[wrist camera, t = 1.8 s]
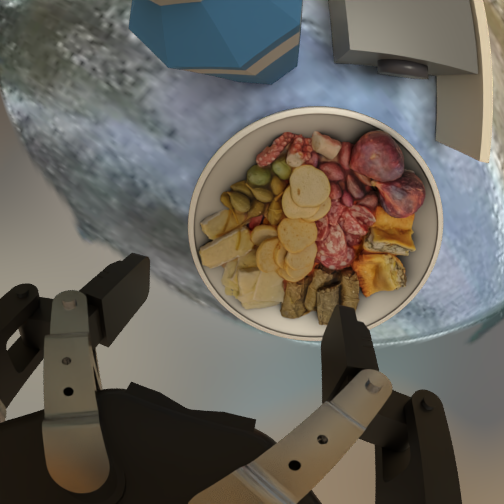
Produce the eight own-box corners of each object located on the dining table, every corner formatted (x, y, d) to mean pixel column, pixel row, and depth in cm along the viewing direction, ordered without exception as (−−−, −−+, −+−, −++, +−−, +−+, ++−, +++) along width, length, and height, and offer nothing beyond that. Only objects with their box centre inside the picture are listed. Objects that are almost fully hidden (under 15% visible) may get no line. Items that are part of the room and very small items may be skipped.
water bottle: (286, 2, 23) (261, -148, 2) (313, 74, 27) (363, 14, 6) (206, 26, 26) (49, -52, 4) (231, 96, 30) (86, 112, 8)
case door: (416, -52, 15) (446, -82, 6) (428, -48, 14) (461, -76, 6) (434, 140, 28) (478, 161, 19) (447, 142, 28) (492, 163, 19)
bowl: (347, 341, 46) (351, 378, 39) (173, 266, 43) (152, 299, 36) (465, 188, 30) (496, 212, 24) (258, 61, 27) (246, 51, 21)
